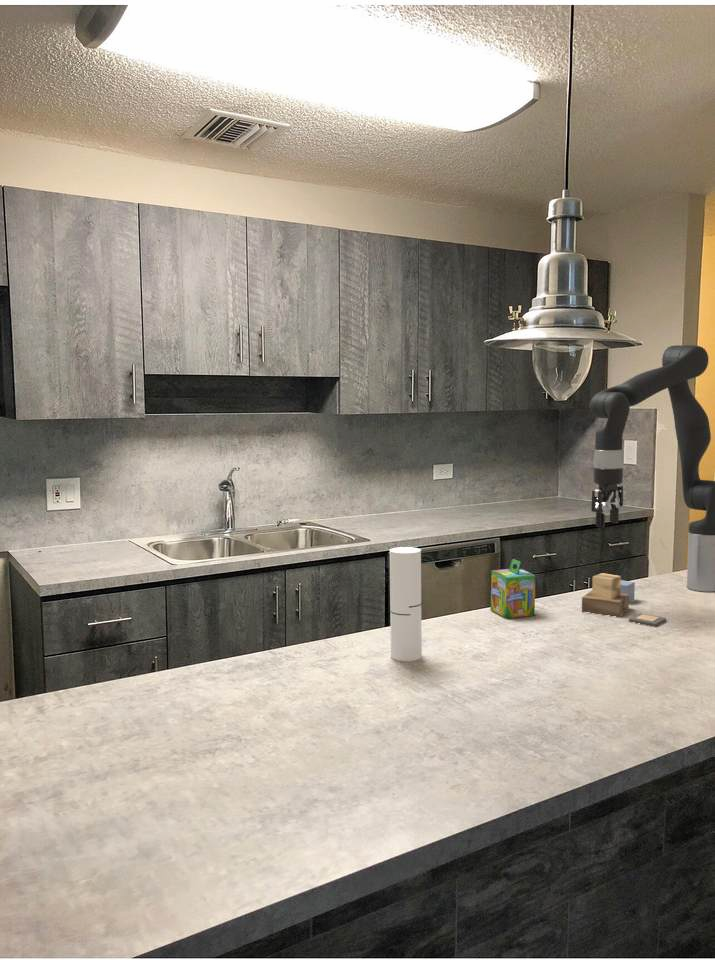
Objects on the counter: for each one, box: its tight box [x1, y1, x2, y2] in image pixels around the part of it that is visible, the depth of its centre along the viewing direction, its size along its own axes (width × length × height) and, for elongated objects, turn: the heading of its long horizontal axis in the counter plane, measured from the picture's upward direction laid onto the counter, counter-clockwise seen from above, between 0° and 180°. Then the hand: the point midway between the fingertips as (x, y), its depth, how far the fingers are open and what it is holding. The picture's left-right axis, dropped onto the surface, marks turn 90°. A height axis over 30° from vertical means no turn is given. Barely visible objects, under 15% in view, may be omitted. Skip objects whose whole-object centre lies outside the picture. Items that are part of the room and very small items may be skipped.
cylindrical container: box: [389, 546, 423, 662], centre depth 176 cm, size 7×7×25 cm
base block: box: [581, 590, 630, 618], centre depth 212 cm, size 10×10×4 cm
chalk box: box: [490, 558, 537, 620], centre depth 210 cm, size 9×9×15 cm
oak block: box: [591, 572, 622, 599], centre depth 211 cm, size 6×6×6 cm
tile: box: [628, 612, 667, 628], centre depth 201 cm, size 7×7×1 cm
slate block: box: [620, 579, 636, 603], centre depth 221 cm, size 6×6×6 cm
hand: (607, 525), depth 209 cm, fingers open, 8 cm apart
